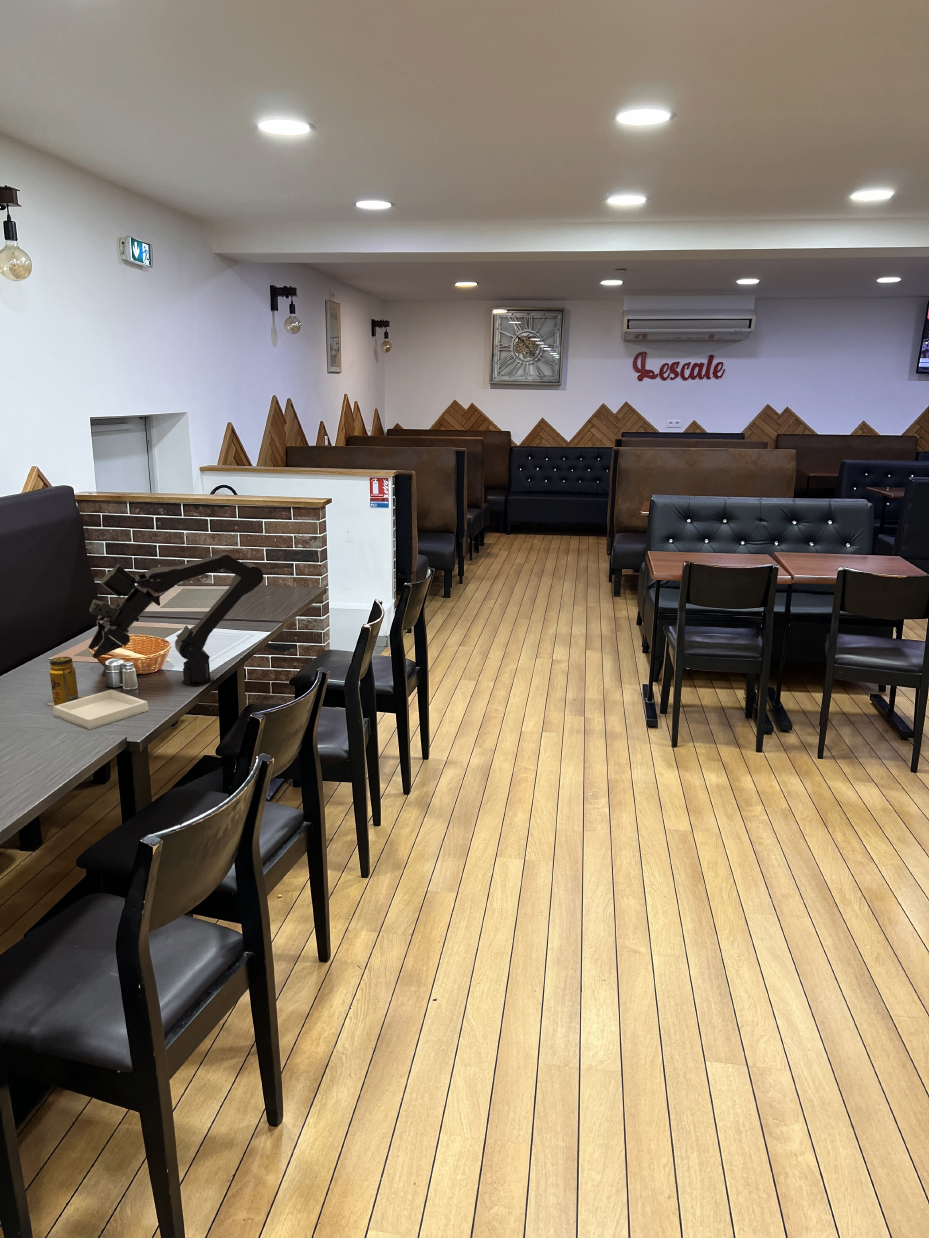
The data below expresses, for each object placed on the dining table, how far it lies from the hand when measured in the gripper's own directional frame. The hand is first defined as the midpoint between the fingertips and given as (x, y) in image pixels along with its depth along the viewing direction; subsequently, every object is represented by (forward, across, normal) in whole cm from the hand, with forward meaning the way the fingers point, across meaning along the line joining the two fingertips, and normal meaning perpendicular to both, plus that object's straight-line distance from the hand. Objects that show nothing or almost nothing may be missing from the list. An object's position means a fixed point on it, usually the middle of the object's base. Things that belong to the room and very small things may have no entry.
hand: (91, 653), depth 224 cm
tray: (+9, +14, +8) cm, 18 cm away
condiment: (+14, 0, +4) cm, 14 cm away
